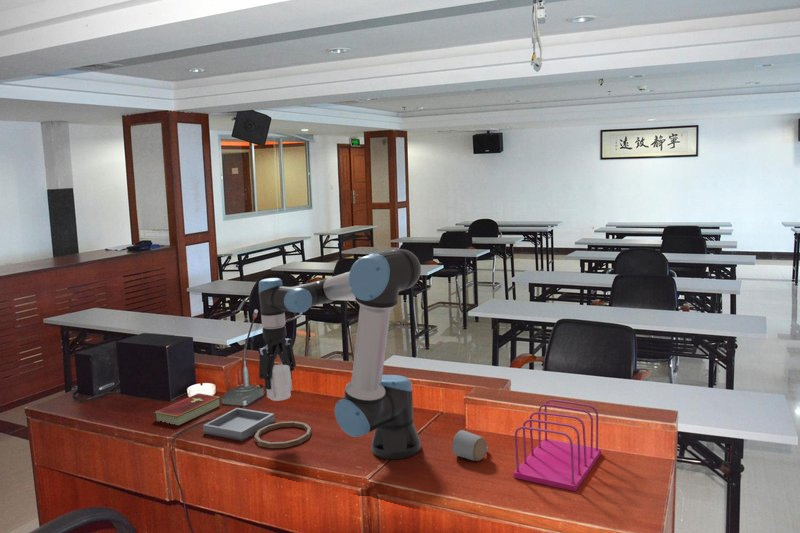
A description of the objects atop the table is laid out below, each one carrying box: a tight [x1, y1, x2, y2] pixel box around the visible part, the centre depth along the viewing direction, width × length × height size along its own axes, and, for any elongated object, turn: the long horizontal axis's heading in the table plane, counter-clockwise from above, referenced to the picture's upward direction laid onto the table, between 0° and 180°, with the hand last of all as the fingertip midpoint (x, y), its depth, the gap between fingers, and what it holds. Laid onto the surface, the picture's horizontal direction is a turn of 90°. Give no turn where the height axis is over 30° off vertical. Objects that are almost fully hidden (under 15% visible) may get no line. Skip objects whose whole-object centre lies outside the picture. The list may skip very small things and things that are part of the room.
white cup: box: [267, 364, 291, 402], centre depth 216 cm, size 8×8×10 cm
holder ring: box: [253, 420, 312, 449], centre depth 218 cm, size 18×18×2 cm
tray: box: [202, 407, 276, 442], centre depth 228 cm, size 17×17×3 cm
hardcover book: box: [153, 393, 221, 426], centre depth 244 cm, size 12×21×4 cm, turn 151°
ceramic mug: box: [451, 429, 489, 462], centre depth 196 cm, size 11×8×8 cm
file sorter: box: [513, 398, 602, 492], centre depth 186 cm, size 17×25×16 cm
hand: (280, 393), depth 216 cm, fingers closed on white cup, 8 cm apart
